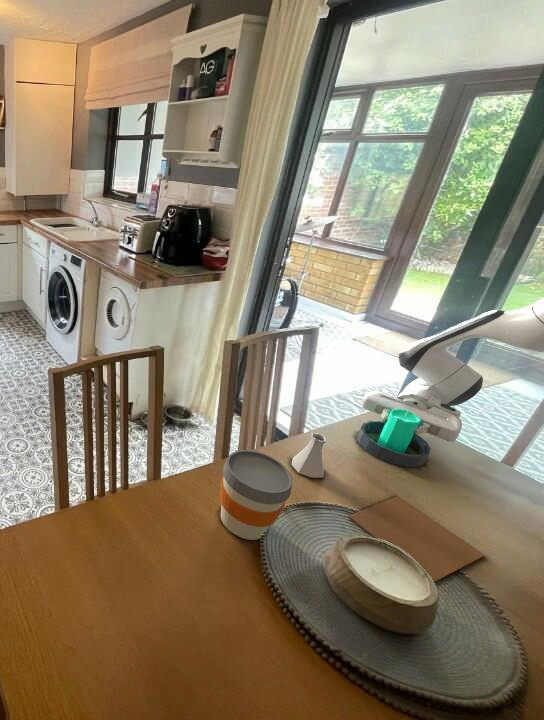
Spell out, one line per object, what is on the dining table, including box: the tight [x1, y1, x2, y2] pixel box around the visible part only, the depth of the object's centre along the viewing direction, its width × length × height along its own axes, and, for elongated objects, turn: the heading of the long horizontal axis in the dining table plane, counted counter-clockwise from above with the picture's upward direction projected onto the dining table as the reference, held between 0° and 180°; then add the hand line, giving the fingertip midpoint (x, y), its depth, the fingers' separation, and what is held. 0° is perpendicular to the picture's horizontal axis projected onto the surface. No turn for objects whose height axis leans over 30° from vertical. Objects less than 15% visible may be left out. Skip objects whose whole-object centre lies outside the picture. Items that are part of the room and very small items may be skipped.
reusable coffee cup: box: [219, 449, 294, 541], centre depth 86 cm, size 13×13×15 cm
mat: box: [348, 496, 485, 583], centre depth 86 cm, size 16×16×1 cm
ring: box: [356, 420, 432, 468], centre depth 110 cm, size 14×14×4 cm
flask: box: [291, 432, 327, 479], centre depth 102 cm, size 7×7×10 cm
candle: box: [376, 409, 421, 454], centre depth 108 cm, size 6×6×12 cm
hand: (400, 426), depth 107 cm, fingers closed on candle, 5 cm apart
